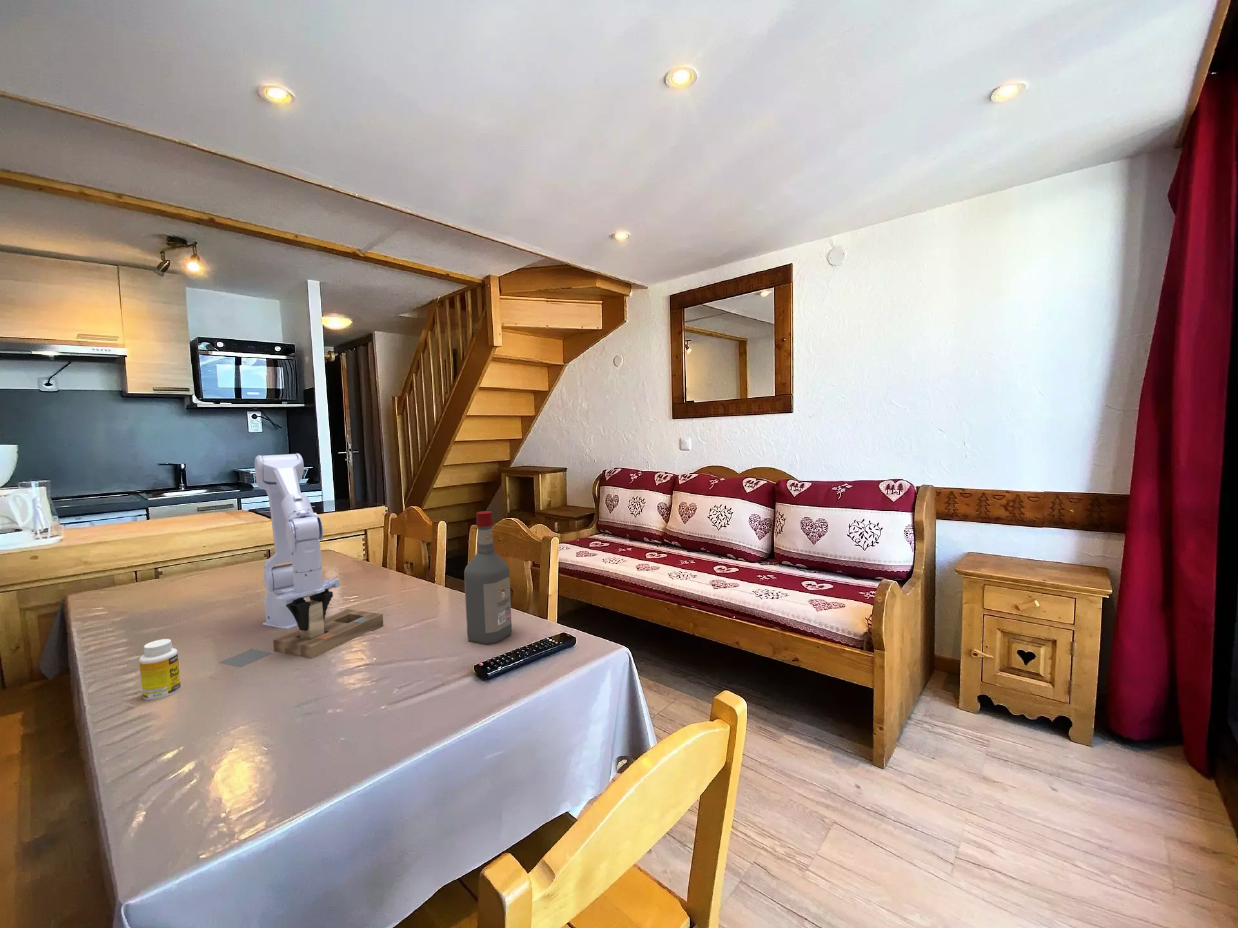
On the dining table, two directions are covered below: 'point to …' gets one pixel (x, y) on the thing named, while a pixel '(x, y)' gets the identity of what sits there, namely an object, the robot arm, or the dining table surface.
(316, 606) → the birch plug
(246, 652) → the mat
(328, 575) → the dining table surface
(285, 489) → the robot arm
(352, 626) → the socket board
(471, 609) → the liquor
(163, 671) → the supplement bottle
